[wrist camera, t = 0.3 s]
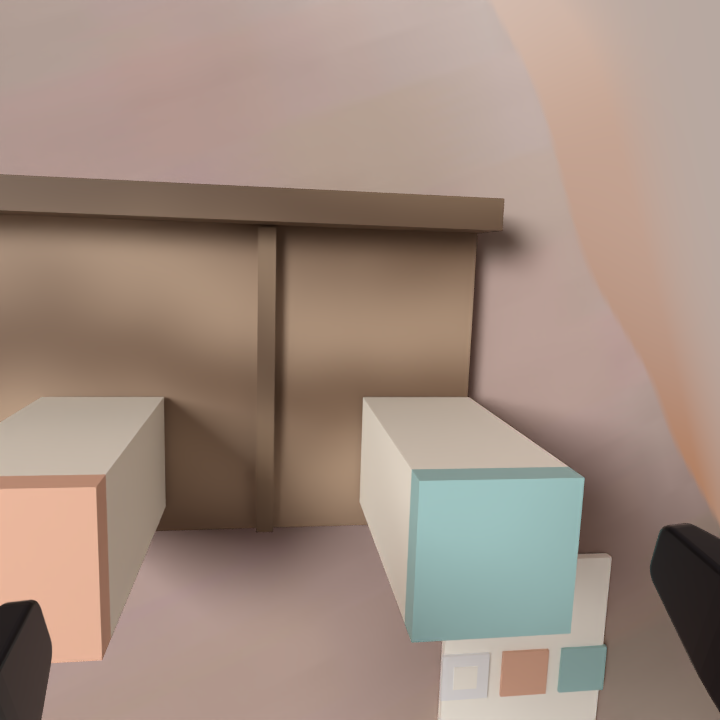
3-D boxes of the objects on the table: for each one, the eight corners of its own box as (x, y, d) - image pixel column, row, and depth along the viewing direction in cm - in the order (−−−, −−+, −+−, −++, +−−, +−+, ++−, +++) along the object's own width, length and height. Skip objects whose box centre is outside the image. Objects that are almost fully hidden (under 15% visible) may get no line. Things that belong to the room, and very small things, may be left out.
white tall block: (462, 499, 24) (570, 633, 16) (359, 501, 24) (411, 642, 15) (468, 397, 24) (584, 478, 15) (363, 397, 23) (419, 481, 14)
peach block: (165, 506, 23) (102, 660, 14) (47, 509, 22) (-96, 671, 13) (163, 396, 22) (96, 486, 13) (41, 396, 21) (-112, 491, 13)
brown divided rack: (452, 511, 25) (481, 551, 22) (-279, 531, 22) (-382, 582, 18) (470, 207, 24) (504, 198, 20) (-327, 170, 20) (-451, 152, 16)
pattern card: (588, 762, 28) (594, 772, 28) (432, 775, 27) (435, 787, 27) (608, 552, 27) (616, 559, 26) (444, 559, 26) (448, 566, 25)
